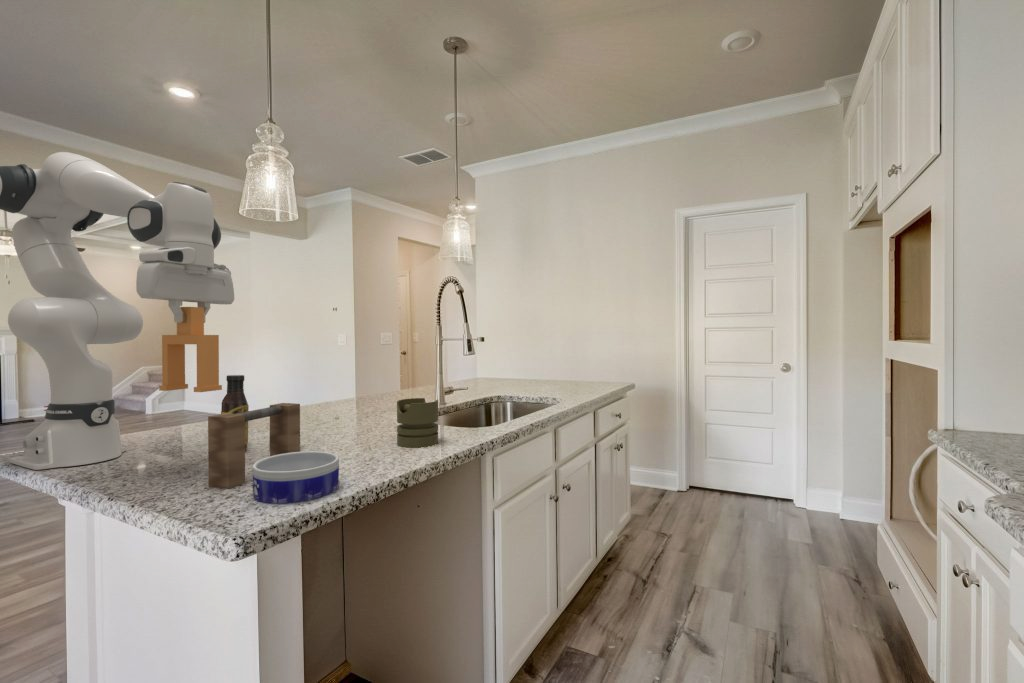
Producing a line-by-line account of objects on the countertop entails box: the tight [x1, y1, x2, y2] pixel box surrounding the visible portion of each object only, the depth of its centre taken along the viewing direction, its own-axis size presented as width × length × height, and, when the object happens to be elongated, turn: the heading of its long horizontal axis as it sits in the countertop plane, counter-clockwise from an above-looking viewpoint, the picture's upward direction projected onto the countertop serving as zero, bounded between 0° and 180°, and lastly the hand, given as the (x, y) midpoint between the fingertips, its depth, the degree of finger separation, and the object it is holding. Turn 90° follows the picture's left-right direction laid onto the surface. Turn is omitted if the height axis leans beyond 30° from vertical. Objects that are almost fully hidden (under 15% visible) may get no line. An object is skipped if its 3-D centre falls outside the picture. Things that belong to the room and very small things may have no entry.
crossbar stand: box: [207, 402, 301, 490], centre depth 102 cm, size 5×20×14 cm, turn 165°
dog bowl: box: [251, 450, 340, 505], centre depth 91 cm, size 15×15×6 cm
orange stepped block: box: [158, 306, 223, 393], centre depth 102 cm, size 12×5×18 cm, turn 75°
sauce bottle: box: [220, 374, 249, 451], centre depth 123 cm, size 6×6×20 cm
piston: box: [396, 397, 439, 449], centre depth 132 cm, size 11×12×11 cm
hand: (190, 322), depth 102 cm, fingers closed on orange stepped block, 3 cm apart
